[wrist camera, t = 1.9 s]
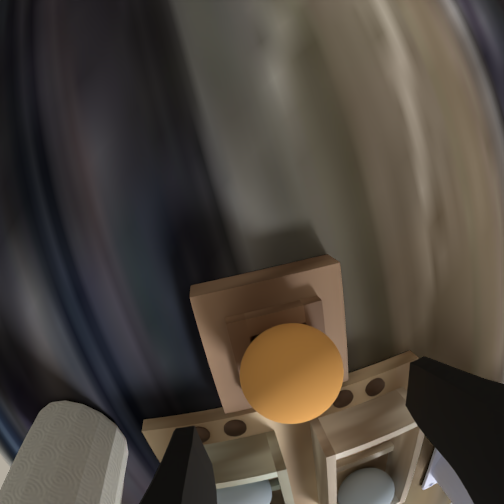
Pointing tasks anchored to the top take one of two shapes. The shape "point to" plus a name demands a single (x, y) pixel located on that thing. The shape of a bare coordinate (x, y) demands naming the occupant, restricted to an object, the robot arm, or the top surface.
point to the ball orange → (291, 373)
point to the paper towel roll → (68, 459)
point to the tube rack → (312, 439)
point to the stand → (265, 315)
